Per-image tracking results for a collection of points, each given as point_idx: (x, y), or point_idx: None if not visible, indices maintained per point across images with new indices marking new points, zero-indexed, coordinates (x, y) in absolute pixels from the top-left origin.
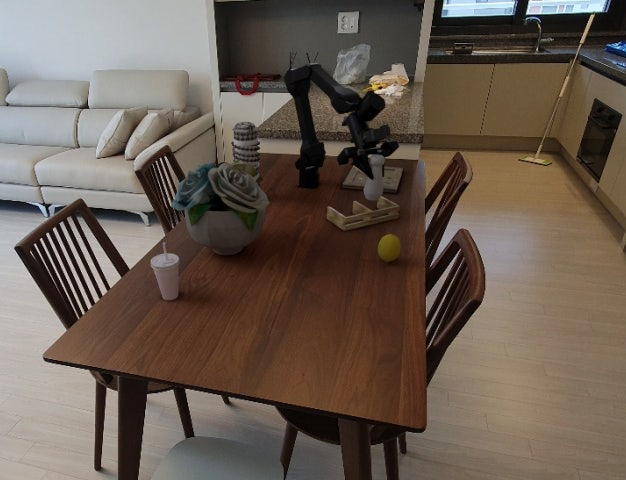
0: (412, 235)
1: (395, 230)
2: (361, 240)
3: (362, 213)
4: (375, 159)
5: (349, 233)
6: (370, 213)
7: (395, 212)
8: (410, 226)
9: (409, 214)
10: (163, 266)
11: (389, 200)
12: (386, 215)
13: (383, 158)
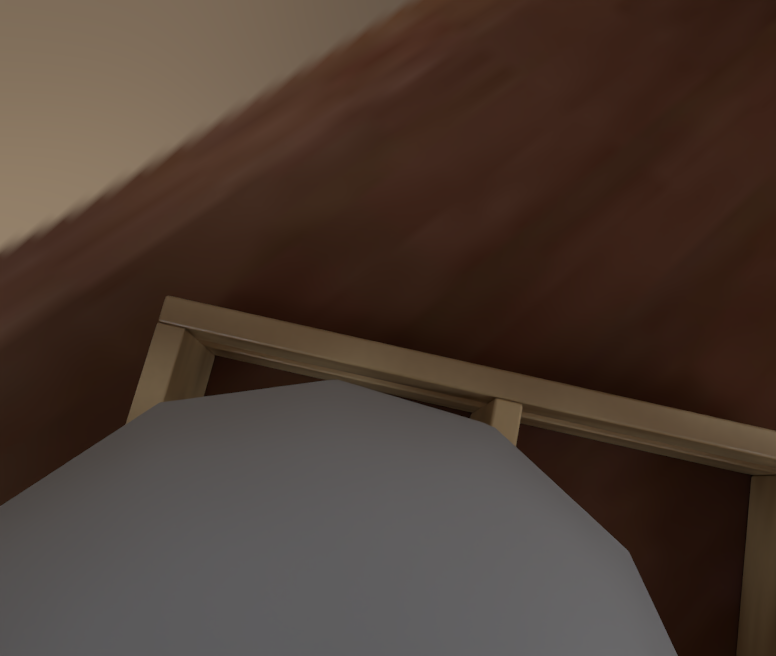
0: (390, 64)
1: (420, 193)
2: (764, 248)
3: (635, 421)
4: (650, 627)
5: (766, 395)
6: (547, 381)
7: (201, 345)
8: (266, 163)
9: (51, 315)
10: None
11: None
12: (315, 365)
13: (219, 411)
